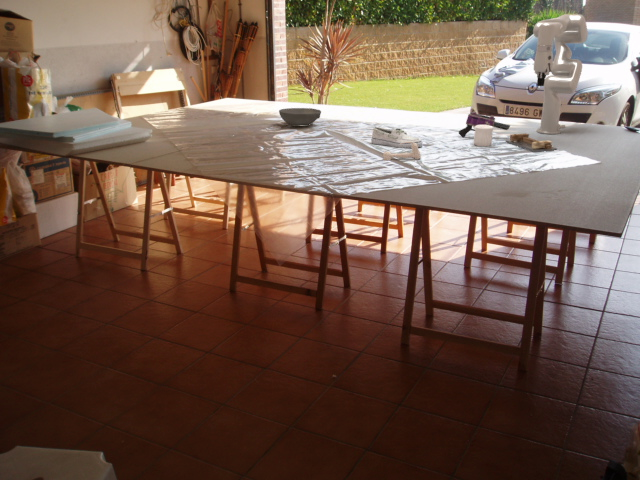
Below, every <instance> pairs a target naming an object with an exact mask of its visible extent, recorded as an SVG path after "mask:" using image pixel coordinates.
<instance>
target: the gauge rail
mask: <svg viewBox="0 0 640 480" xmlns="http://www.w3.org/2000/svg"><path fill="white" fill-rule="evenodd" d="M509 140H511V141H517V140H518V141H524V142H527V143H530V144H532V142H536V141H539V139H535V138H531V137H530V134H529V133H513V134H510V135H509ZM552 147H553V144H551V145H550V144H545V149H552Z"/></svg>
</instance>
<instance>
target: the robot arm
mask: <svg viewBox="0 0 640 480" xmlns="http://www.w3.org/2000/svg"><path fill="white" fill-rule="evenodd" d="M532 33H533V36H534V37H535V38H537V42H536V43H537V45H536V51H535V52H536V54H535V57H534V62H533V71H534V73H535V75H536V78H537V80H536V86H537V87H543V101H542V103H543V104H542V111H541V119H540V128H538V129H537V131H536V132H537V133H539V134H543V135H544V134H545V135H558V134H561V129H566V124H559V122H560V114H561V107H562V100H561V97H560V96H559V94H560V95H561V94H562V95H563V94H564V95H571V94H574V93H575V92H576V90H577V88H578V86H579V82H580V78H581V75H582V71H583V62H582V61H581V60H580V59H578V58H577V59H574V58H573V59H571V58H572V55H573V52H572V50H571V48H570V47H569V46H568V45H567V44H583V43H585V42H586V41H587V39H588V35H589V34H588V33H589V31H588V28H587V21H586V19H585V16H584V15H582V14H562V15H560V16H558V17H554V18H547V19H543V20H539V21H538V22H536V23H535V24H534V26H533V30H532ZM553 47H555V55H554V52H553V49H554V48H553ZM550 73H551V75H550ZM548 75H549V76H548Z"/></svg>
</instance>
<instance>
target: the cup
mask: <svg viewBox="0 0 640 480" xmlns="http://www.w3.org/2000/svg"><path fill="white" fill-rule="evenodd" d="M474 127H475V129H474V130H475V131H474V137H473V144H474V146H476V147H483V146H484V147H490V146H491V145H492V143H493V130H494V126H489V125H476V126H474Z"/></svg>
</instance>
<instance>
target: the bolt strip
mask: <svg viewBox="0 0 640 480" xmlns="http://www.w3.org/2000/svg"><path fill="white" fill-rule="evenodd" d="M506 142H507V143H506ZM505 143H506V144H509V145H512V146H515V147H517V146H518V148H520V147H521V149H524V150H526V151H529V152H531V153H533V154H534V153H545V152H544V151H546V152H555V151H554V150H557V151H558V148H557V147H555V146H552V149H545V148H532V144H530V143H527V142H524V141H518V140H517V141H511V140H510V139H507V140H505Z"/></svg>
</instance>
